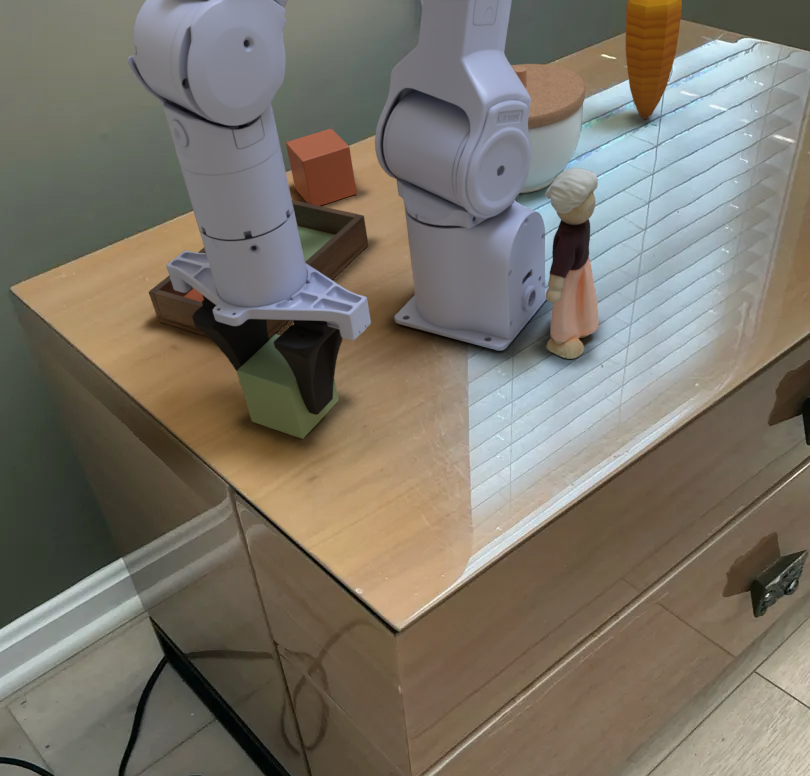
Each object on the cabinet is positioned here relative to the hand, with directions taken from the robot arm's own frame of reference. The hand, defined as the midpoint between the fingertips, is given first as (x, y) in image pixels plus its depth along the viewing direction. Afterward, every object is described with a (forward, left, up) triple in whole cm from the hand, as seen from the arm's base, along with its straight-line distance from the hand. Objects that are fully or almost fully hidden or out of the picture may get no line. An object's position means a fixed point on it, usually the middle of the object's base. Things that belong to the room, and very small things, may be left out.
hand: (291, 395), depth 66 cm
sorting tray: (+12, -13, -1) cm, 17 cm away
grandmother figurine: (-14, -16, -2) cm, 21 cm away
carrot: (-6, -50, -2) cm, 50 cm away
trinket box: (0, -36, -2) cm, 36 cm away
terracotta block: (+16, -27, -1) cm, 31 cm away
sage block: (0, 0, -1) cm, 1 cm away
